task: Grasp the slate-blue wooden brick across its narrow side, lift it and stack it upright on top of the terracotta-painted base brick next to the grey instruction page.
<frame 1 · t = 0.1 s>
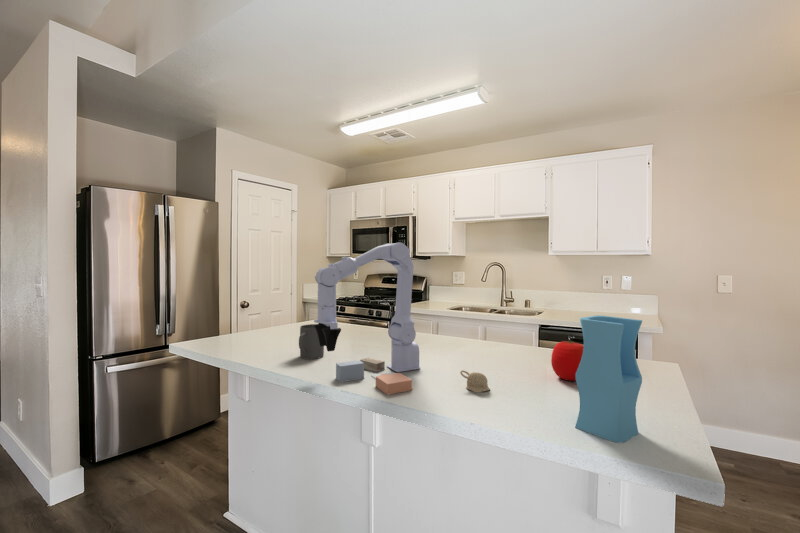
hand: (327, 348, 120), 10 cm above the table, fingers open, 7 cm apart
instruction page: (386, 376, 124), on the table
mug: (309, 358, 147), on the table
top brick: (350, 378, 122), on the table
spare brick: (372, 369, 133), on the table
decorative ornament: (475, 390, 112), on the table
vase: (607, 430, 85), on the table
tomato: (570, 380, 121), on the table
base brick: (393, 388, 112), on the table
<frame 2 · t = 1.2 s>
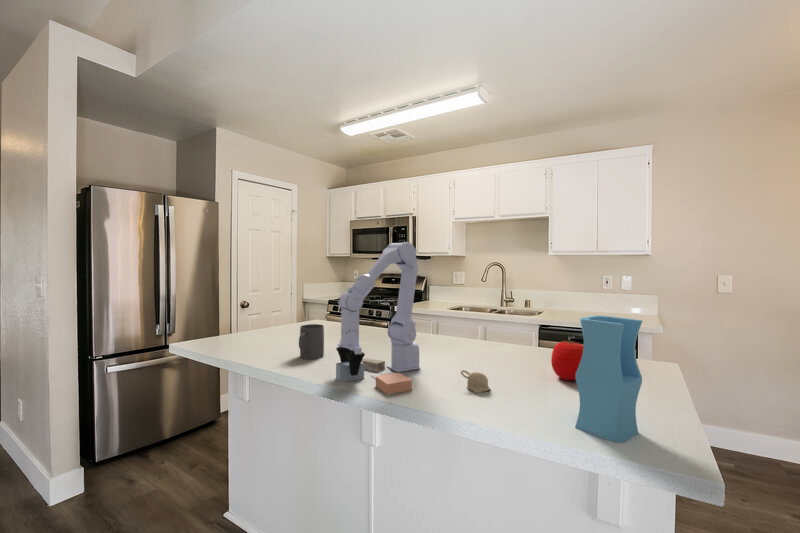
hand: (349, 371, 122), 2 cm above the table, fingers open, 7 cm apart
nothing on the table moved.
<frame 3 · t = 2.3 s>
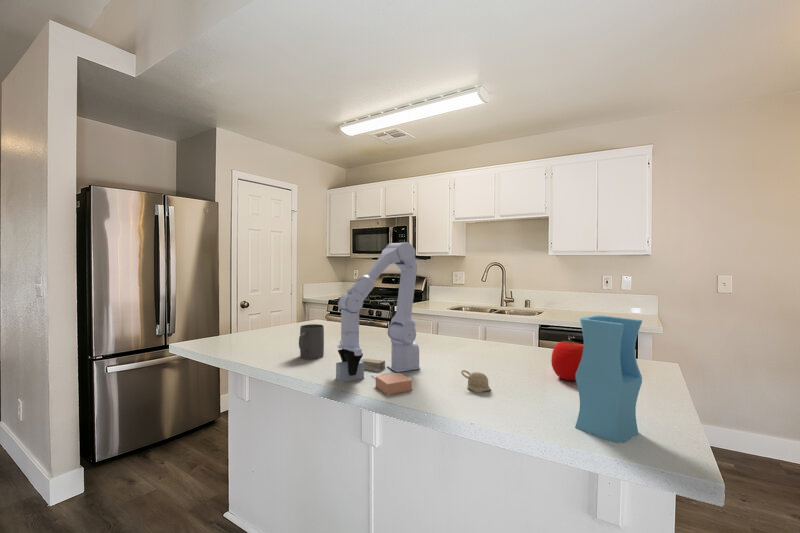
hand: (350, 373, 122), 2 cm above the table, fingers closed on top brick, 4 cm apart
top brick: (350, 378, 122), on the table, touching gripper
everything else where it was.
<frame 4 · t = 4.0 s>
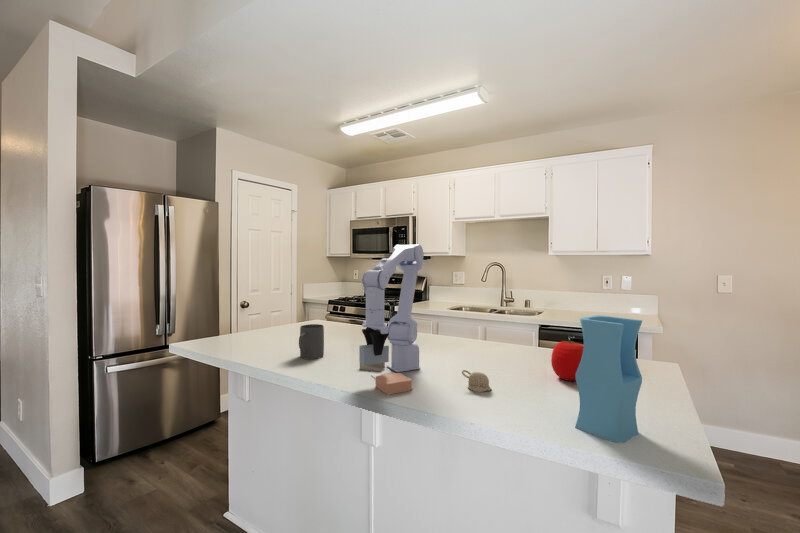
hand: (374, 353, 116), 9 cm above the table, fingers closed on top brick, 4 cm apart
top brick: (374, 361, 116), point 7 cm above the table, touching gripper
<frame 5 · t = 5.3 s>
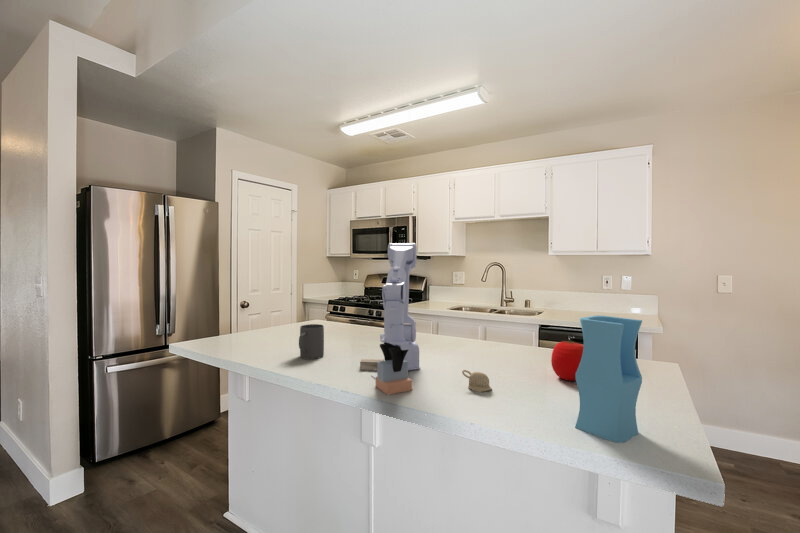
hand: (393, 369, 112), 6 cm above the table, fingers closed on top brick, 4 cm apart
top brick: (392, 378, 112), point 3 cm above the table, touching base brick, gripper
when the fingers open (6 cm above the table, at t = 6.0 s): top brick stays where it is, resting on base brick.
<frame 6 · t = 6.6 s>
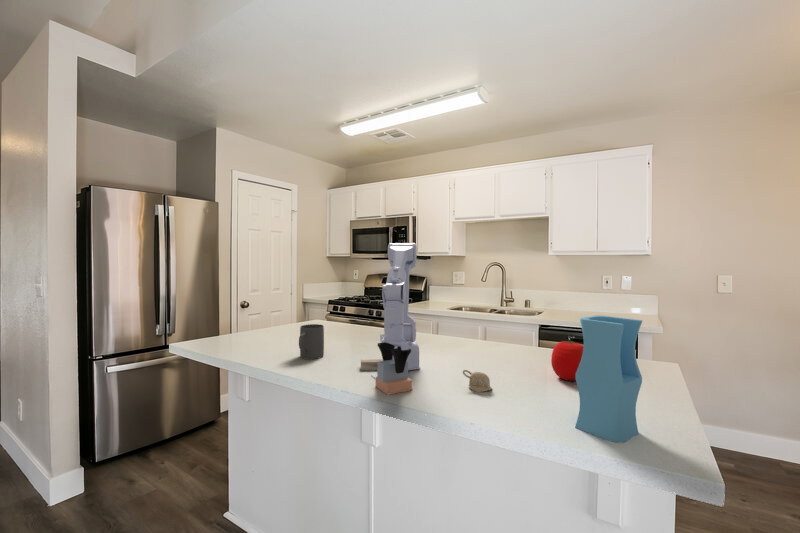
hand: (393, 369, 112), 6 cm above the table, fingers open, 7 cm apart
top brick: (392, 378, 112), point 3 cm above the table, touching base brick
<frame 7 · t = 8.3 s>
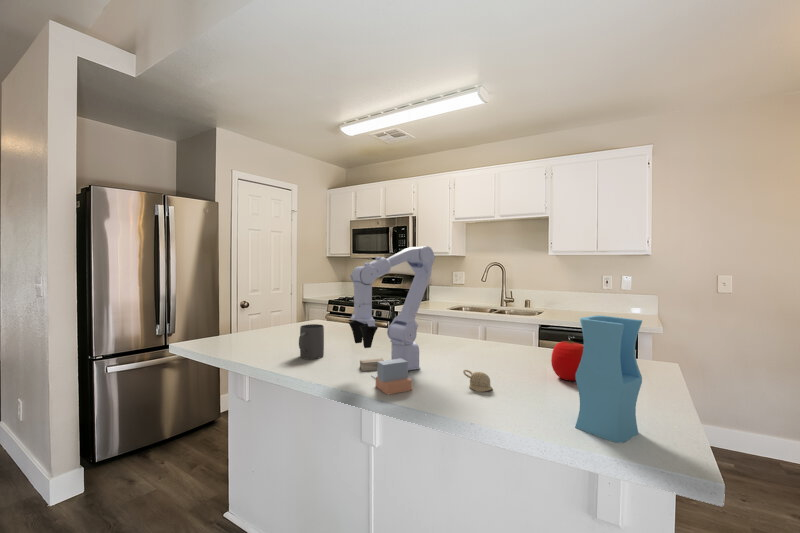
hand: (362, 345, 123), 10 cm above the table, fingers open, 7 cm apart
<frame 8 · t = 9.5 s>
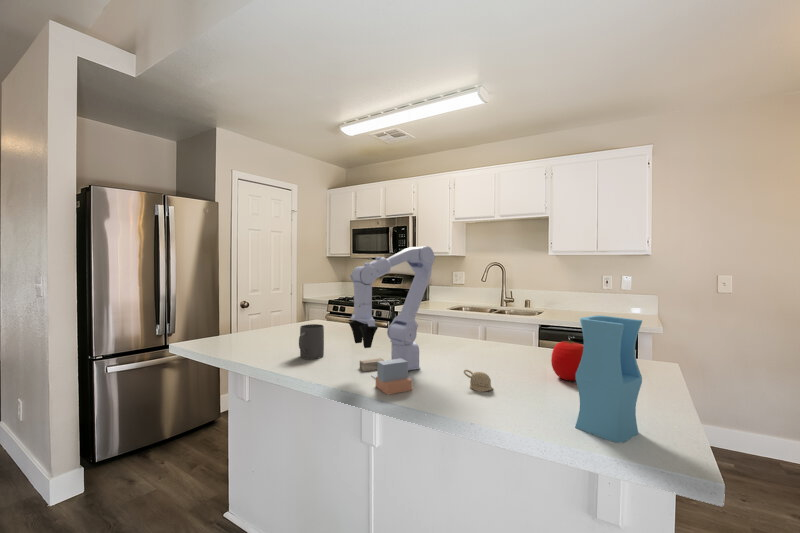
hand: (362, 345, 123), 10 cm above the table, fingers open, 7 cm apart
at the end: top brick 0.4 cm from the base brick (horizontally); top brick point 3.0 cm above the table; top brick tilted 0° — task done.
